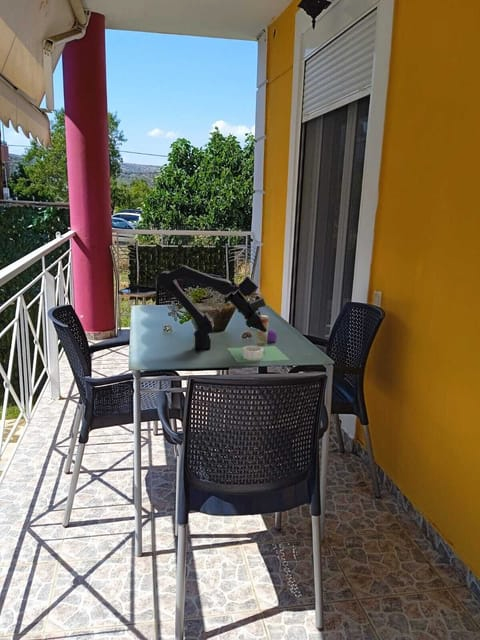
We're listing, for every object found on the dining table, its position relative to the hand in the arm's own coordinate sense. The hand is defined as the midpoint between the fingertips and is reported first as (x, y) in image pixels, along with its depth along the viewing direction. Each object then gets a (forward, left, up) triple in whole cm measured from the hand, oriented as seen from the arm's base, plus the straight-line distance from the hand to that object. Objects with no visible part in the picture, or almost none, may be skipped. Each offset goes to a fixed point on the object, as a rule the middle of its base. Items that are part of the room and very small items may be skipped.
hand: (265, 330), depth 199 cm
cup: (-8, -8, -9) cm, 14 cm away
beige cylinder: (-1, 0, -7) cm, 7 cm away
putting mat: (-4, -4, -10) cm, 11 cm away
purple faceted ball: (+7, +21, -10) cm, 25 cm away
